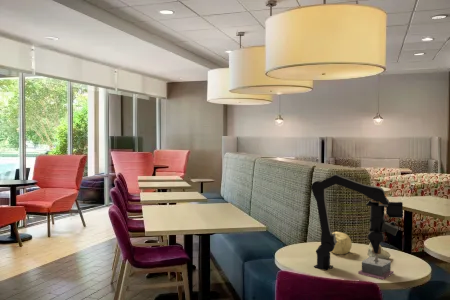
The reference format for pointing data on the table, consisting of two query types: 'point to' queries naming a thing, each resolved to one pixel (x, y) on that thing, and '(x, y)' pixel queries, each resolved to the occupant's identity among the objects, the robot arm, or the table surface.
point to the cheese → (383, 254)
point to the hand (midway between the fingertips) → (376, 252)
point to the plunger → (376, 253)
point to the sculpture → (342, 243)
